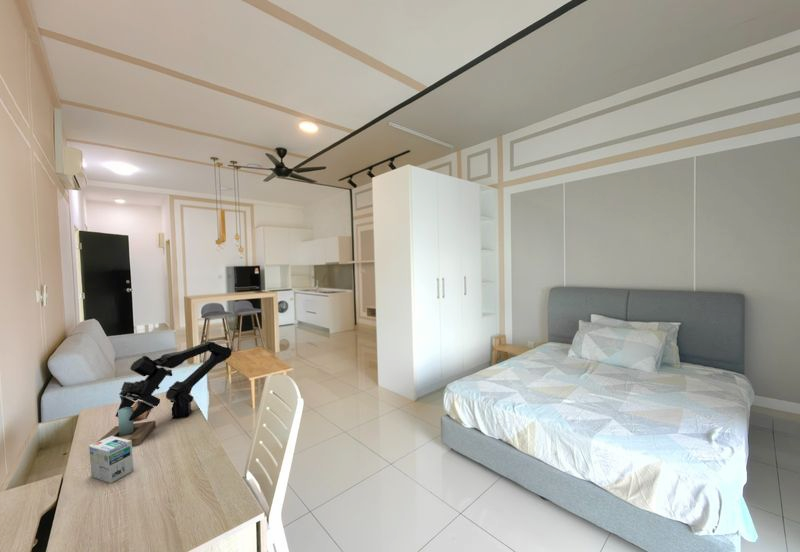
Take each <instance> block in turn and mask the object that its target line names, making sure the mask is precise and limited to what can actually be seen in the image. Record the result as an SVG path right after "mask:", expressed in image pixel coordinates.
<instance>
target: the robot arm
mask: <svg viewBox="0 0 800 552" xmlns="http://www.w3.org/2000/svg"><path fill="white" fill-rule="evenodd" d="M207 352H209V353H210V355H209V357H208V359H207V360H205V361H204V362H203V363H202V364H201V365H200V366H199V367H198V368H197V369H195V370H194V371H193V372H192V373H191V374H190V375H189V376H187V378H185V379H184V380H183V381H179V380H178V381H177V380H176V381H175V382H174V383H173V384H172V385H171V386H169V387H168V390H166V393H165V396H166V399H167V400H169V401H170V402H171V403H172V407H171V416H172V417H171V420H176V419H181V418H188V417H190V415H191V414H192V412H193V411H194V410H193V409H192V402H194V401H193V400H194V396H192V394H191V391H192V389H193V387H194V386H195V385H196V384H198V383H199V382H200V381H201V380H202V379H203V378H204V377H205V376H206V375H207V374H208V373H209V372H210V371H211V370H212V369H213V368H215V366H217V365H218V364H221V363H223V362H224V361H226V360H227V359H229V358H230V357H231V356H232V349H231V348H230V347H227V346H224V345H223V346H222V345H220V344H218V343H216V342H214V341H205V342H204V343H200V344H198V345H195V346H192V347H190V348H189V347H188V348H187V349H184V350H181V351H175V352H170V353H164V354H163V355H161V356H160V357H159V358H156V359H154V360H153V359H152V358H150V357H149V356H148V355H147V356H146V355H142V357H140V358H138V359H137V360H136V361H133V363H132V364H131V365H130V367H129V368H130V370H131V371H132V372H134V373H136V374H138V375H140V376H142V377H145V379H141V380H139V381H134V382H130V381H124V382H123V384H122V387H121V389H120V392H119V394H118V395H119V398H120V401H121V402H120V404H119V407H118V409H117V411H116V413H115V417H117V418H118V410H119V409H122V408H125V407H133V406H134V405H135V404H136V402H137V401H138V406H137V408H136V409H135V411H134V412H133V414H132V415H131V417H130V418H129V421H132V420H134V419H135V418H137V417H138V416H140V415H141V414H143V413H145V412H146V411H148V410H150V409H151V408H152V409H154V408H155V407H156V408H157V407H158V405H160V403H161V399H160V398H159V397H156V396H154V395H153V393H155V391H156V390H159V389H160V388H161V387H160V384H161V383H162V382H163V380H164V379H165V378H166V377H173V372H172V369H174V368H176V367H178V366H180V365H182V364H183V363H184V362H185V361H187V360H189V359H191V358H194V357H197V356H199V355H201V354H204V353H207ZM153 406H154V407H153ZM190 413H191V414H190Z"/></svg>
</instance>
